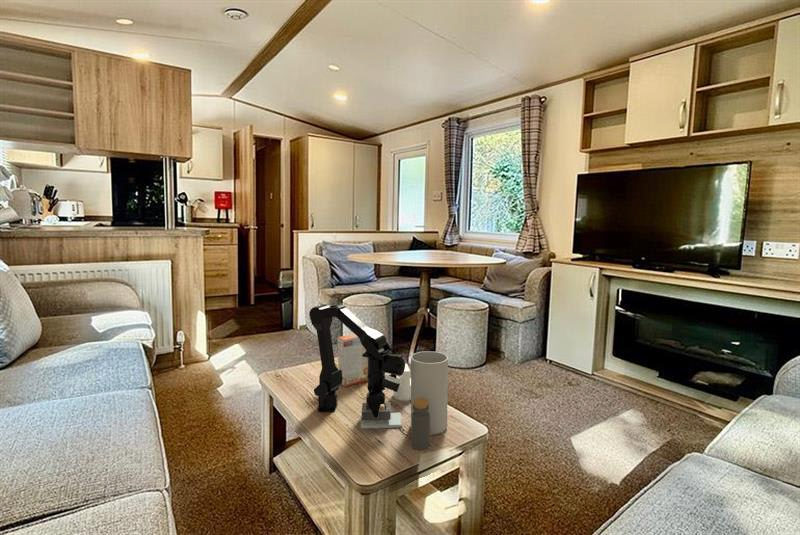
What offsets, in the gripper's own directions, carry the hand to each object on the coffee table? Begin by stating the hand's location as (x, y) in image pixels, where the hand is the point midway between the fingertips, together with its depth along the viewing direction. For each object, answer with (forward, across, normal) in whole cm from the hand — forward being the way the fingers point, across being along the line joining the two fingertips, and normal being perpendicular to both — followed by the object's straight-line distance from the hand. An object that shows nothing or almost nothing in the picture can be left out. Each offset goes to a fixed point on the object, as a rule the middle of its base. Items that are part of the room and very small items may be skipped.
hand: (376, 412), depth 151 cm
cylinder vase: (+4, -4, -18) cm, 19 cm away
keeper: (+4, 0, -2) cm, 4 cm away
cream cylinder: (+4, +22, -11) cm, 25 cm away
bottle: (+4, -16, -14) cm, 22 cm away
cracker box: (+4, +38, +10) cm, 39 cm away
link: (+1, 0, 0) cm, 1 cm away
